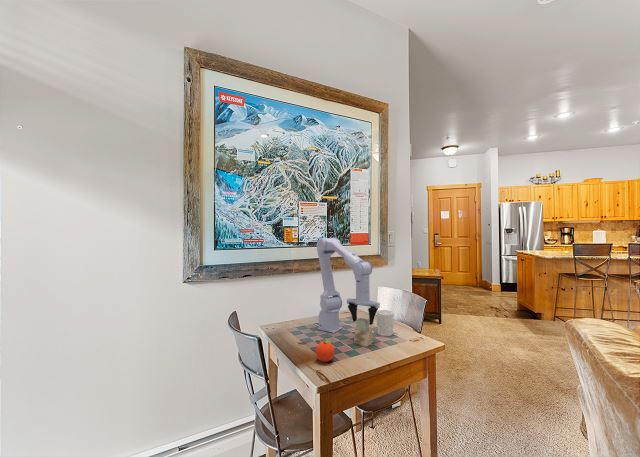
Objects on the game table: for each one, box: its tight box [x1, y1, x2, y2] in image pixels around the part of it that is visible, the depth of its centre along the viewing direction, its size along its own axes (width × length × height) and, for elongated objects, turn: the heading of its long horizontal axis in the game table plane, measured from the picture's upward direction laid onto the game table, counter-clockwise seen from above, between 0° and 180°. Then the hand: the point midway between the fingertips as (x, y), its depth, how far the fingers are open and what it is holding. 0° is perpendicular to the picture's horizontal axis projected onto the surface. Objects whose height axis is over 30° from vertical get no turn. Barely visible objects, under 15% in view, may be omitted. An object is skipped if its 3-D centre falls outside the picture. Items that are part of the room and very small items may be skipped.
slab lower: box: [353, 335, 374, 347], centre depth 125 cm, size 6×6×3 cm
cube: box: [355, 317, 370, 331], centre depth 125 cm, size 4×4×4 cm
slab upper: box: [354, 327, 373, 340], centre depth 124 cm, size 6×6×3 cm
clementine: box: [315, 340, 335, 363], centre depth 108 cm, size 8×7×7 cm
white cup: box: [375, 309, 395, 337], centre depth 135 cm, size 8×8×10 cm
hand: (362, 322), depth 125 cm, fingers open, 7 cm apart
